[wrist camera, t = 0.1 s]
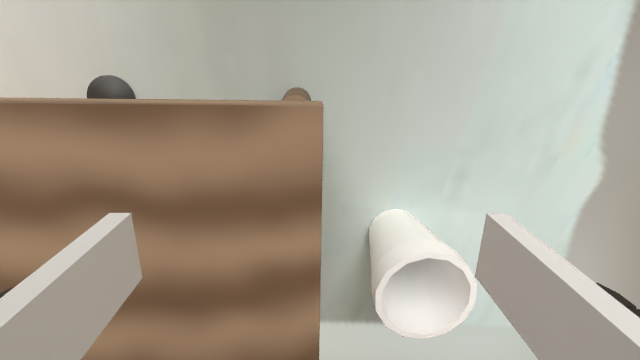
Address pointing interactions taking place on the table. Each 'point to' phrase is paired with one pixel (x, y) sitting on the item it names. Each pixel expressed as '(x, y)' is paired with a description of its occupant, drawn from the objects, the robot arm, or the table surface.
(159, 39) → the table surface
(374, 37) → the table surface
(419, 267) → the foam cup
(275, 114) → the stool
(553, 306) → the robot arm
